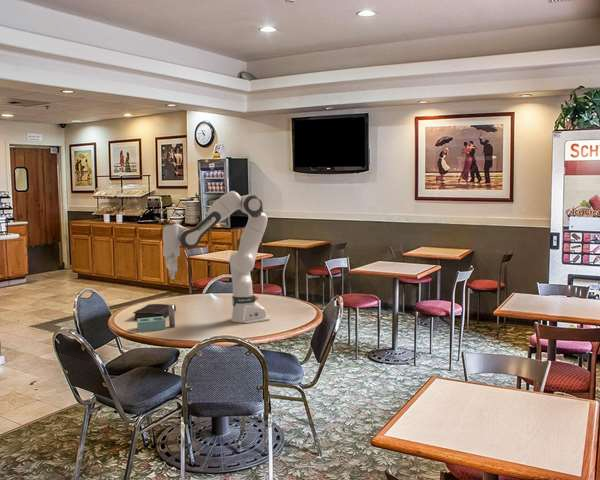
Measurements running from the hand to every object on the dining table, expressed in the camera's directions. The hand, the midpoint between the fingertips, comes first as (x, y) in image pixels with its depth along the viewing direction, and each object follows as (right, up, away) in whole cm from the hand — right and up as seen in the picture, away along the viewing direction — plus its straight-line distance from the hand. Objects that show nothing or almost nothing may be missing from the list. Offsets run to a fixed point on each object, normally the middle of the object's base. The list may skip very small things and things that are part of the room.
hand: (171, 278), depth 313 cm
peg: (0, -27, +2) cm, 27 cm away
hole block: (-11, -28, 0) cm, 30 cm away
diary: (-17, -25, +31) cm, 44 cm away
